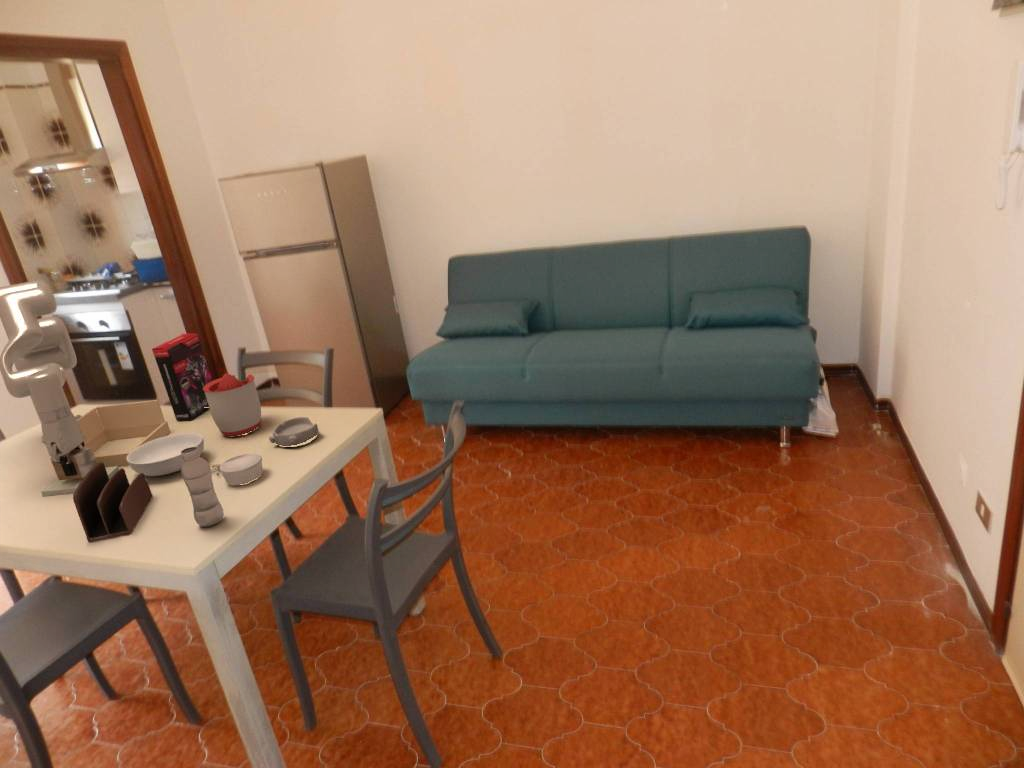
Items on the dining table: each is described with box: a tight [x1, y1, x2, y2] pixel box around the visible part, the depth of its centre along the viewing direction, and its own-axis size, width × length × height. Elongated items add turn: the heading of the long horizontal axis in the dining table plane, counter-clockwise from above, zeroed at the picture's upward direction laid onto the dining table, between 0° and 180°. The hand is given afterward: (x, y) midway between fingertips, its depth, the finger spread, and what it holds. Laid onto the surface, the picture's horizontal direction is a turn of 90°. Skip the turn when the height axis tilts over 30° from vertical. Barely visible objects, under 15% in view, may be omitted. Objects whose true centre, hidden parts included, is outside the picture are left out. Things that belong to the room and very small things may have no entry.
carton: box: [77, 399, 171, 468], centre depth 219 cm, size 24×22×12 cm
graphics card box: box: [151, 332, 213, 422], centre depth 243 cm, size 17×7×27 cm, turn 168°
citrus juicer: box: [203, 372, 262, 438], centre depth 223 cm, size 16×17×20 cm
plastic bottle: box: [180, 447, 225, 528], centre depth 166 cm, size 6×7×20 cm
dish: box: [268, 416, 319, 446], centre depth 212 cm, size 14×14×5 cm
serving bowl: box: [126, 432, 205, 477], centre depth 203 cm, size 21×21×7 cm
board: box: [40, 466, 120, 497], centre depth 201 cm, size 12×16×2 cm
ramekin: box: [219, 452, 264, 486], centre depth 190 cm, size 11×11×5 cm
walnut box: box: [50, 448, 97, 480], centre depth 200 cm, size 5×9×7 cm, turn 90°
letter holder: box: [72, 462, 154, 543], centre depth 175 cm, size 10×20×14 cm, turn 12°
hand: (77, 470), depth 200 cm, fingers closed on walnut box, 5 cm apart
